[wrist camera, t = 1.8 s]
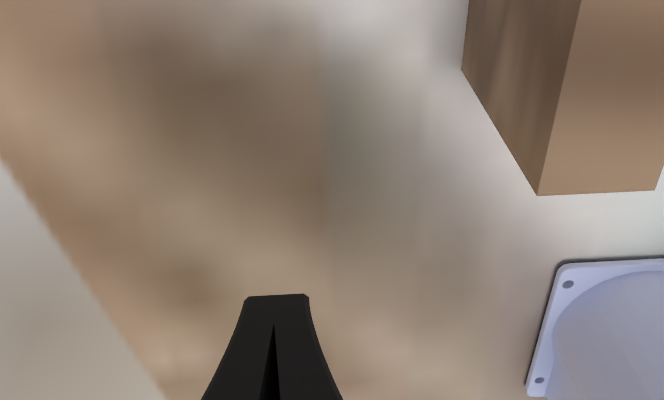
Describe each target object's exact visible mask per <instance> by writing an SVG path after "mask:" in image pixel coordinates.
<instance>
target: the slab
mask: <svg viewBox="0 0 664 400" xmlns="http://www.w3.org/2000/svg"><path fill="white" fill-rule="evenodd" d="M461 70H462V72H463V74H464V75H465V77H466V79H467V80H468V82H469V84H470V85H471V87H472V89H473V90H474V92H475V94H476V95H477V97H478V99H479V100H480V102H481V104H482V105H483V107H484V109H485V110H486V112H487V114H488V115H489V117H490V119H491V120H492V122H493V124H494V125H495V127H496V129H497V130H498V132H499V134H500V135H501V137H502V139H503V140H504V142H505V144H506V145H507V147H508V149H509V150H510V152H511V154H512V155H513V157H514V159H515V160H516V162H517V164H518V165H519V167H520V169H521V170H522V172H523V174H524V175H525V177H526V179H527V180H528V182H529V184H530V185H531V187H532V189H533V190H534V192H535V194H536V195H537V196H548V195H568V194H589V193H609V192H630V191H650V190H655V187H656V184H657V182H658V179H659V176H660V174H661V171H662V168H663V165H664V0H469V7H468V16H467V24H466V33H465V42H464V50H463V59H462V67H461Z"/></svg>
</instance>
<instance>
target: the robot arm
mask: <svg viewBox="0 0 664 400" xmlns="http://www.w3.org/2000/svg"><path fill="white" fill-rule="evenodd" d="M568 280H569V281H568ZM566 281H567V282H566ZM564 282H565V283H564ZM525 391H526V393H527V395H528V396H530V397H546V400H664V258H660V259H641V260H622V261H603V262H584V263H569V264H565V265H563V266H561V267H560V268H559V269H558V271H557V273H556V277H555V281H554V284H553V288H552V291H551V295H550V299H549V302H548V306H547V309H546V313H545V316H544V320H543V324H542V327H541V331H540V334H539V338H538V342H537V345H536V349H535V352H534V356H533V360H532V363H531V367H530V370H529V374H528V378H527V381H526V385H525ZM201 400H343V399H342V396H341V394H340V392H339V390H338V388H337V386H336V384H335V381H334V379H333V377H332V375H331V372H330V370H329V367H328V365H327V362H326V360H325V357H324V355H323V352H322V350H321V347H320V344H319V341H318V338H317V335H316V331H315V328H314V324H313V321H312V316H311V312H310V306H309V297H308V296H306V295H305V294H287V295H268V296H250V297H248V298H247V299H246V300H244V304H243V307H242V311H241V314H240V317H239V320H238V322H237V325H236V328H235V330H234V333H233V335H232V337H231V340H230V342H229V345H228V347H227V349H226V351H225V353H224V355H223V358H222V360H221V362H220V364H219V366H218V368H217V370H216V372H215V374H214V376H213V378H212V380H211V382H210V384H209V386H208V388H207V390H206V391H205V393H204V395H203V397H202V399H201Z"/></svg>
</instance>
